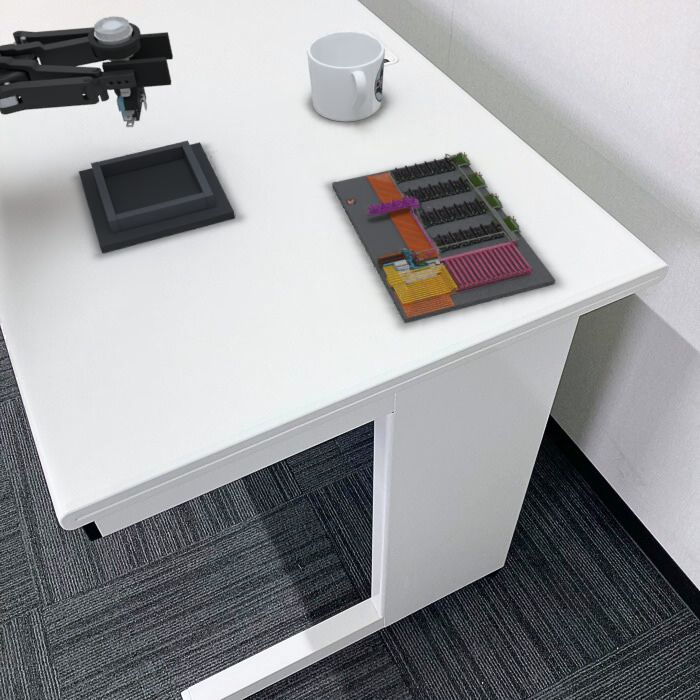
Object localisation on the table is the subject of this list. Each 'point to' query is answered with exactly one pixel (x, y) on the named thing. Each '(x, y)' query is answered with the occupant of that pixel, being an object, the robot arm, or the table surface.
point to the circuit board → (439, 237)
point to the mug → (346, 75)
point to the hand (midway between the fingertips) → (169, 58)
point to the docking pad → (153, 195)
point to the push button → (120, 59)
